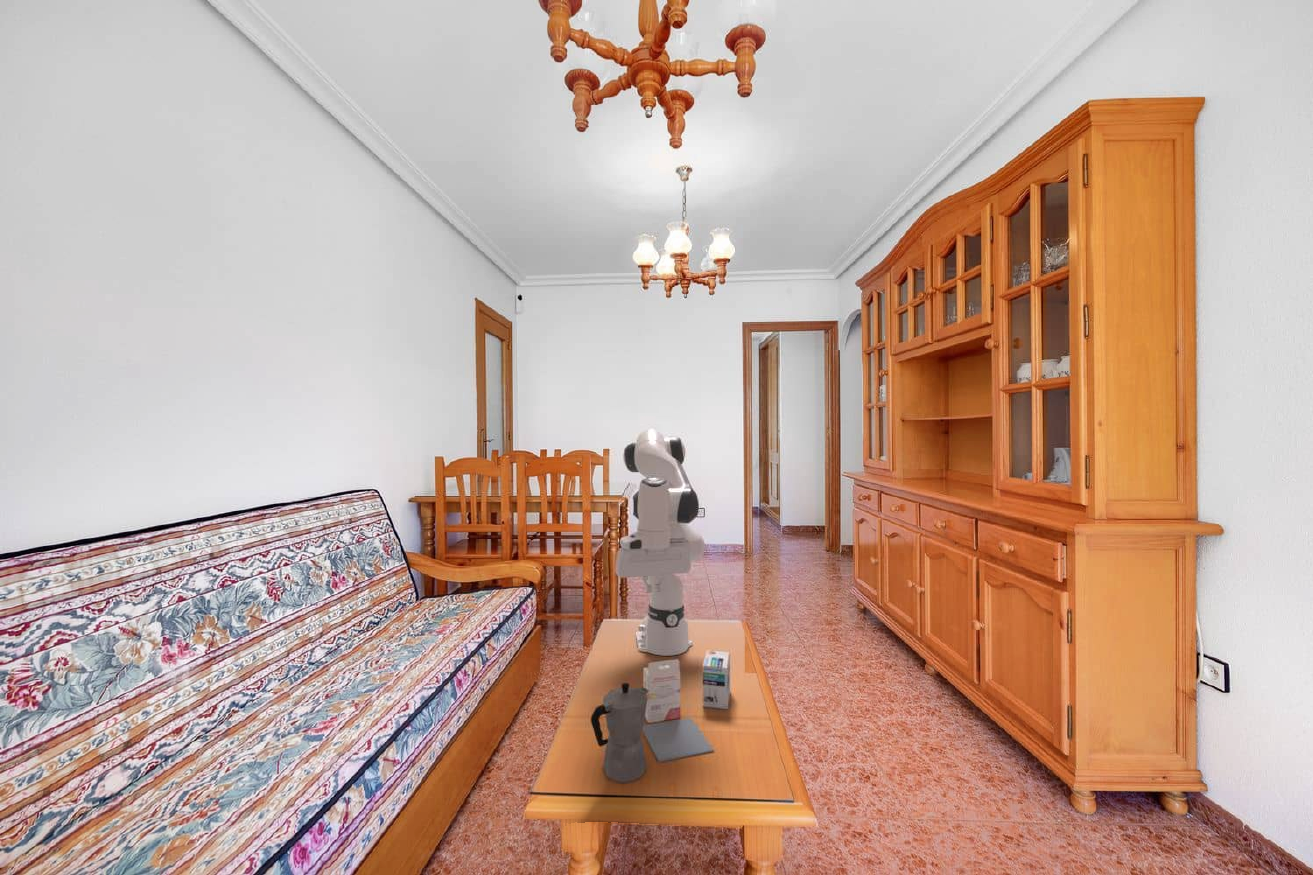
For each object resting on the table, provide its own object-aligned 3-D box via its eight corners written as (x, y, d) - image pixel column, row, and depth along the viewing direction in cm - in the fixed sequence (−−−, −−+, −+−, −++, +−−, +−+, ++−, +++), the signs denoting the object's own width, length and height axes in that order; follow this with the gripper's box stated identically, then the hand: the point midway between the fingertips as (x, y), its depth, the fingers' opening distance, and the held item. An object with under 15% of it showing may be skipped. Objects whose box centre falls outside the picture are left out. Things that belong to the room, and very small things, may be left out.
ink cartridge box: (674, 708, 133) (674, 651, 133) (680, 718, 128) (681, 659, 128) (642, 713, 131) (642, 655, 131) (647, 723, 126) (648, 663, 126)
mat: (640, 727, 124) (640, 725, 124) (690, 718, 128) (690, 717, 128) (658, 762, 111) (658, 760, 111) (713, 751, 115) (713, 749, 115)
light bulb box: (727, 710, 133) (728, 668, 133) (701, 707, 134) (702, 665, 134) (730, 690, 143) (730, 651, 143) (706, 687, 144) (706, 649, 144)
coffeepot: (633, 746, 116) (633, 666, 117) (662, 765, 110) (663, 681, 110) (577, 777, 106) (577, 689, 106) (605, 800, 99) (606, 706, 99)
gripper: (686, 535, 143) (685, 585, 143) (614, 539, 137) (613, 591, 137) (694, 539, 137) (694, 591, 137) (619, 543, 131) (619, 598, 131)
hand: (653, 591), depth 137 cm, fingers closed
